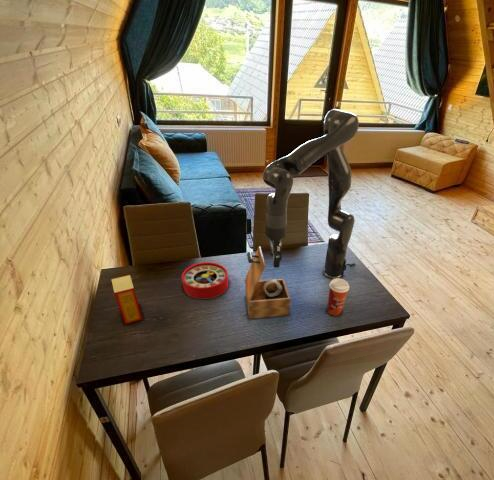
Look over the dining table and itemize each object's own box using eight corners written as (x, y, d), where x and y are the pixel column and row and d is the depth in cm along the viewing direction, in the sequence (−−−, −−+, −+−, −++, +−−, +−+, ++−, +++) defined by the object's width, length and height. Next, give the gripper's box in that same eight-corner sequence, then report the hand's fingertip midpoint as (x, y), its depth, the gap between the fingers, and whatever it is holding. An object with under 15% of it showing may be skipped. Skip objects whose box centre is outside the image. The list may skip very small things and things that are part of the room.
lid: (260, 246, 125) (247, 243, 123) (265, 265, 115) (251, 262, 112) (246, 280, 134) (234, 278, 132) (249, 301, 123) (236, 299, 121)
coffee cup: (331, 319, 132) (337, 291, 123) (321, 307, 137) (325, 280, 128) (347, 314, 135) (354, 286, 126) (336, 302, 141) (342, 275, 132)
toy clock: (213, 257, 153) (236, 277, 141) (214, 267, 156) (236, 287, 145) (173, 271, 141) (195, 294, 130) (175, 282, 145) (197, 305, 133)
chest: (282, 294, 143) (284, 278, 138) (289, 315, 132) (290, 298, 127) (245, 297, 140) (245, 281, 134) (249, 318, 129) (248, 302, 124)
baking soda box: (121, 309, 128) (110, 278, 119) (138, 304, 131) (129, 273, 122) (125, 324, 122) (114, 292, 112) (142, 319, 125) (133, 287, 115)
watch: (283, 302, 137) (284, 282, 130) (265, 306, 134) (265, 286, 128) (278, 295, 141) (280, 275, 134) (261, 298, 138) (262, 278, 132)
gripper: (290, 232, 108) (287, 270, 118) (282, 214, 119) (280, 250, 129) (268, 233, 106) (267, 272, 116) (262, 214, 118) (262, 251, 127)
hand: (274, 260), depth 122 cm, fingers open, 8 cm apart
